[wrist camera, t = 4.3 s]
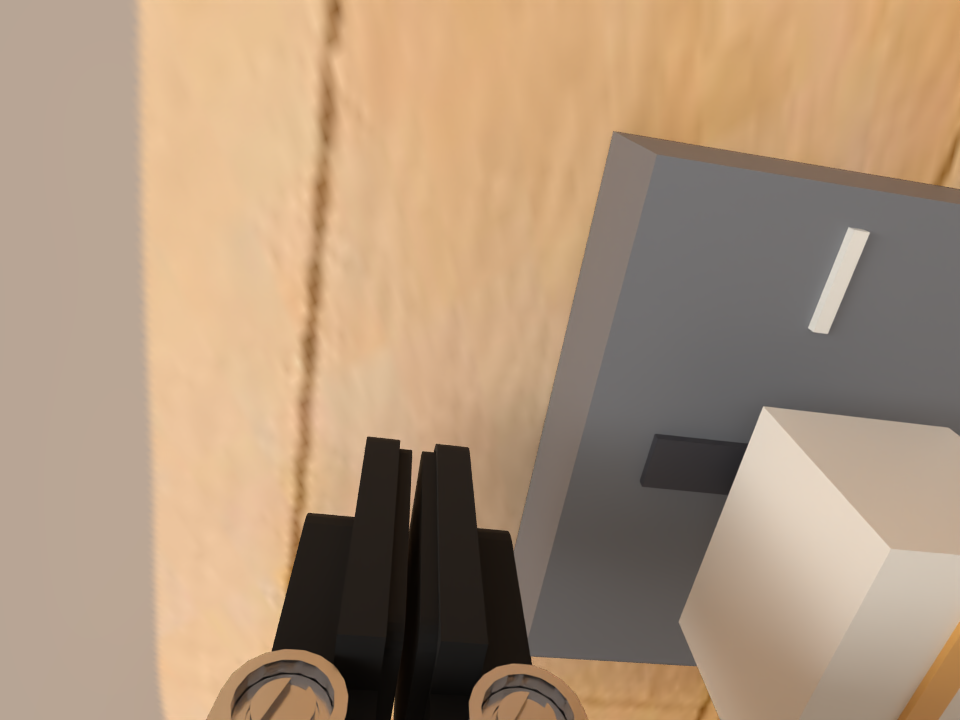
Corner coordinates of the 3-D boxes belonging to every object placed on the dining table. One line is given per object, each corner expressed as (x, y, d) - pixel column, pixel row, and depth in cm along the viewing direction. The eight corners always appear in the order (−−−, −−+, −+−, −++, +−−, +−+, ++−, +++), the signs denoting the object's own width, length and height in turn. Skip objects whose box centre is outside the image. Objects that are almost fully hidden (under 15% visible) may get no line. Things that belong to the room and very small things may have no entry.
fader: (727, 366, 13) (896, 554, 8) (895, 387, 13) (1143, 576, 9) (655, 568, 15) (757, 807, 10) (802, 579, 15) (962, 814, 11)
